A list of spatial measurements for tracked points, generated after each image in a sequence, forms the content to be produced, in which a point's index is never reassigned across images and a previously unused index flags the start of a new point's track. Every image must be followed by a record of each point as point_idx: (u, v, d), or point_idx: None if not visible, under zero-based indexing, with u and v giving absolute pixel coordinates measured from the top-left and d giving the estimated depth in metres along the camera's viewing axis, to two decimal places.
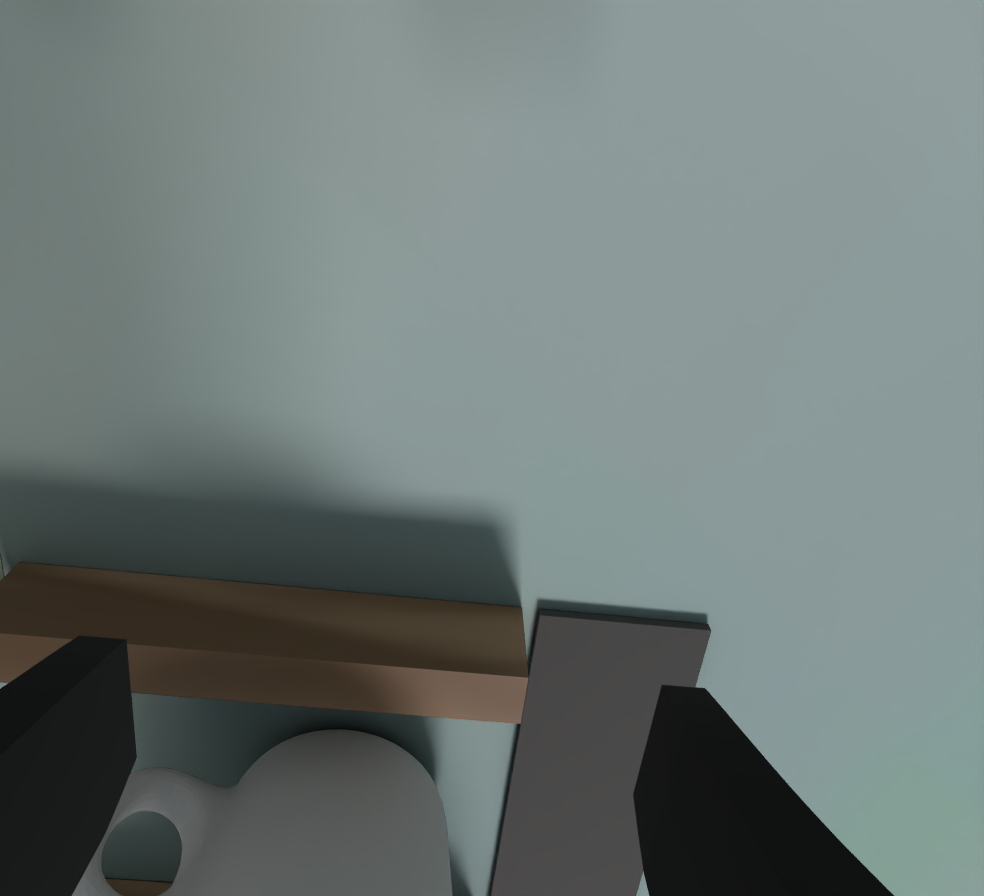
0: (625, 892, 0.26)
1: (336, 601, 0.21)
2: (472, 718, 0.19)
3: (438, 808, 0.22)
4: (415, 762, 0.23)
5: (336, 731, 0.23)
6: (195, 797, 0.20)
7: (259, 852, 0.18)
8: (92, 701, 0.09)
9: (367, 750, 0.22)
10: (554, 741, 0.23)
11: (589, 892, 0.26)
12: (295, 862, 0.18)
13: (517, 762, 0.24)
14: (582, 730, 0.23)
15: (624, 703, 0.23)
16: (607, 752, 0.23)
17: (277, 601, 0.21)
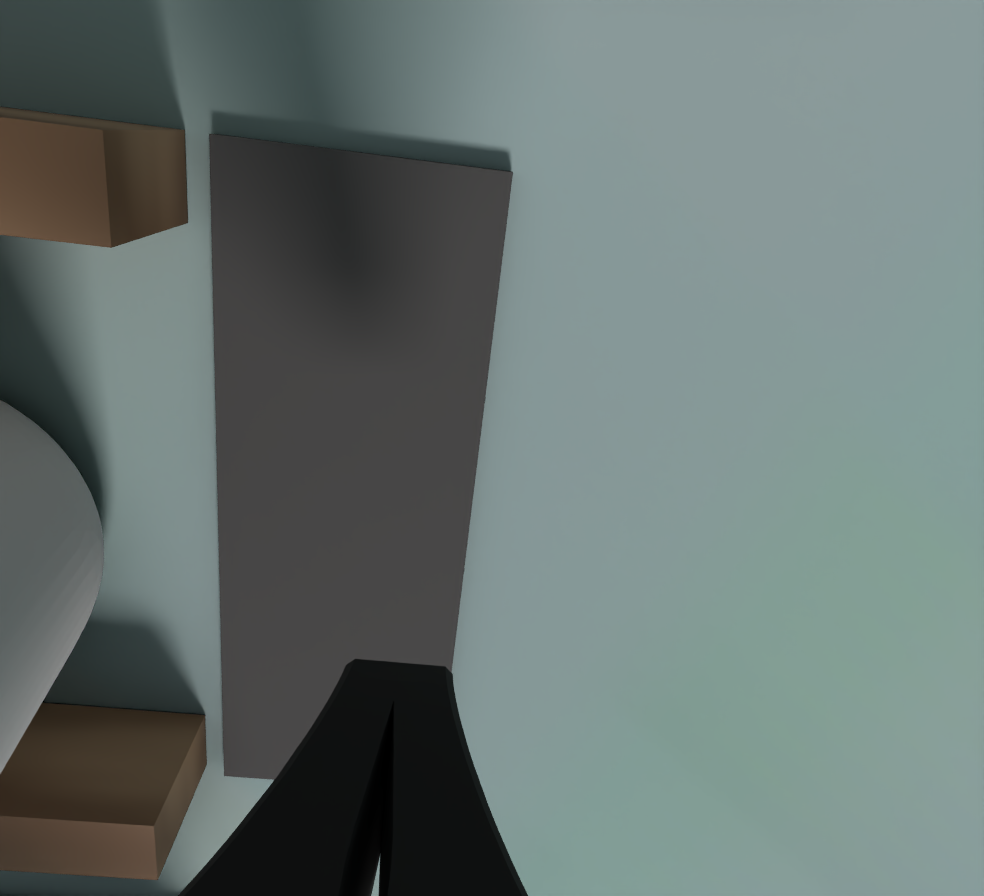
0: None
1: None
2: (18, 235, 0.10)
3: (55, 490, 0.13)
4: (32, 426, 0.14)
5: None
6: None
7: None
8: (390, 725, 0.09)
9: None
10: (276, 404, 0.14)
11: None
12: None
13: (221, 446, 0.14)
14: (319, 382, 0.14)
15: (382, 327, 0.14)
16: (367, 428, 0.14)
17: None
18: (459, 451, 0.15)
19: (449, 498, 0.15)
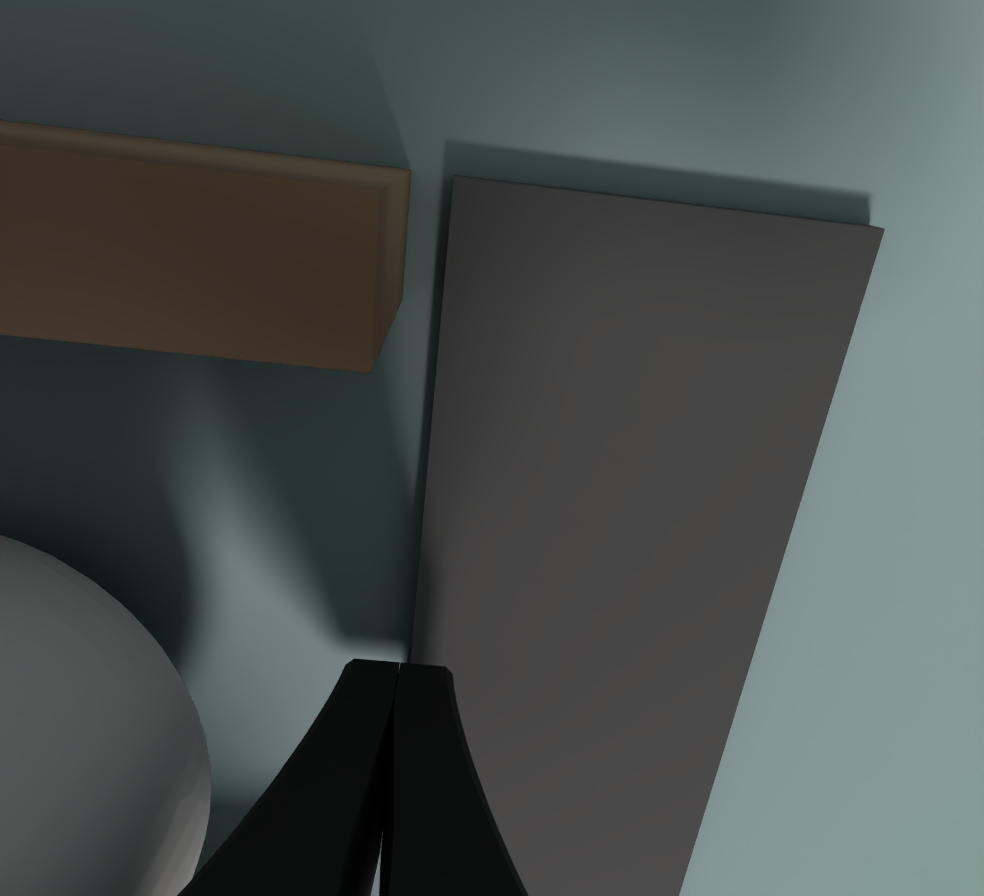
0: (658, 886, 0.13)
1: None
2: (223, 355, 0.06)
3: (135, 750, 0.08)
4: (117, 626, 0.09)
5: None
6: None
7: None
8: (390, 725, 0.09)
9: None
10: (503, 541, 0.10)
11: (586, 886, 0.13)
12: None
13: (423, 595, 0.11)
14: (567, 513, 0.10)
15: (664, 441, 0.10)
16: (624, 571, 0.10)
17: None
18: (744, 599, 0.11)
19: (721, 657, 0.11)
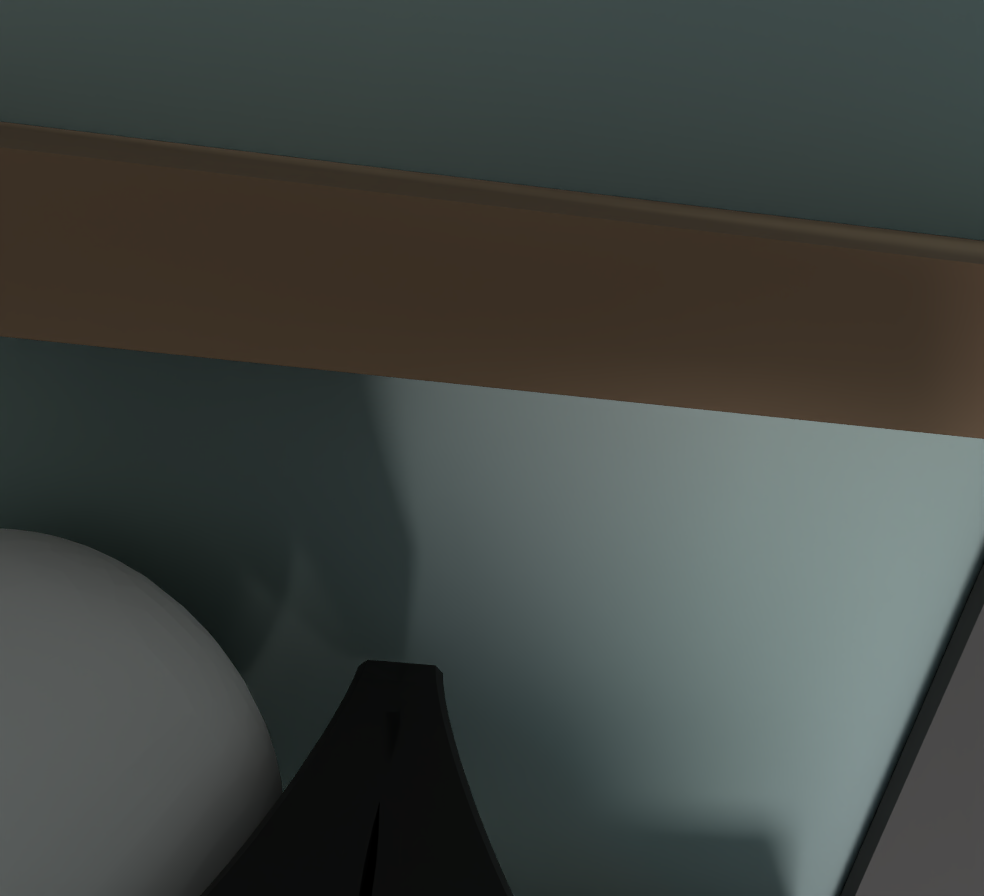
0: None
1: (666, 205, 0.08)
2: None
3: (211, 797, 0.07)
4: (204, 658, 0.08)
5: (37, 532, 0.09)
6: None
7: None
8: None
9: (55, 577, 0.08)
10: None
11: None
12: None
13: (972, 644, 0.11)
14: None
15: None
16: None
17: (528, 190, 0.08)
18: None
19: None
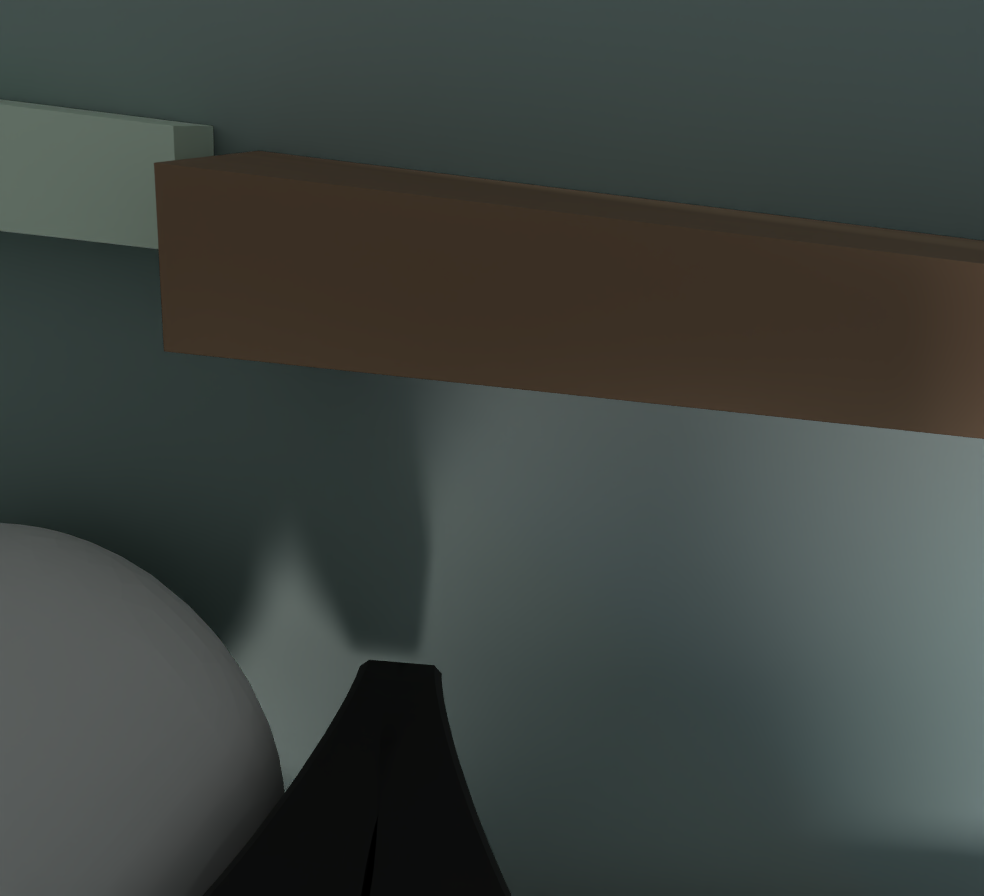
0: None
1: None
2: None
3: (216, 799, 0.07)
4: (209, 659, 0.08)
5: (42, 528, 0.09)
6: None
7: None
8: None
9: (62, 575, 0.08)
10: None
11: None
12: None
13: None
14: None
15: None
16: None
17: (904, 235, 0.08)
18: None
19: None
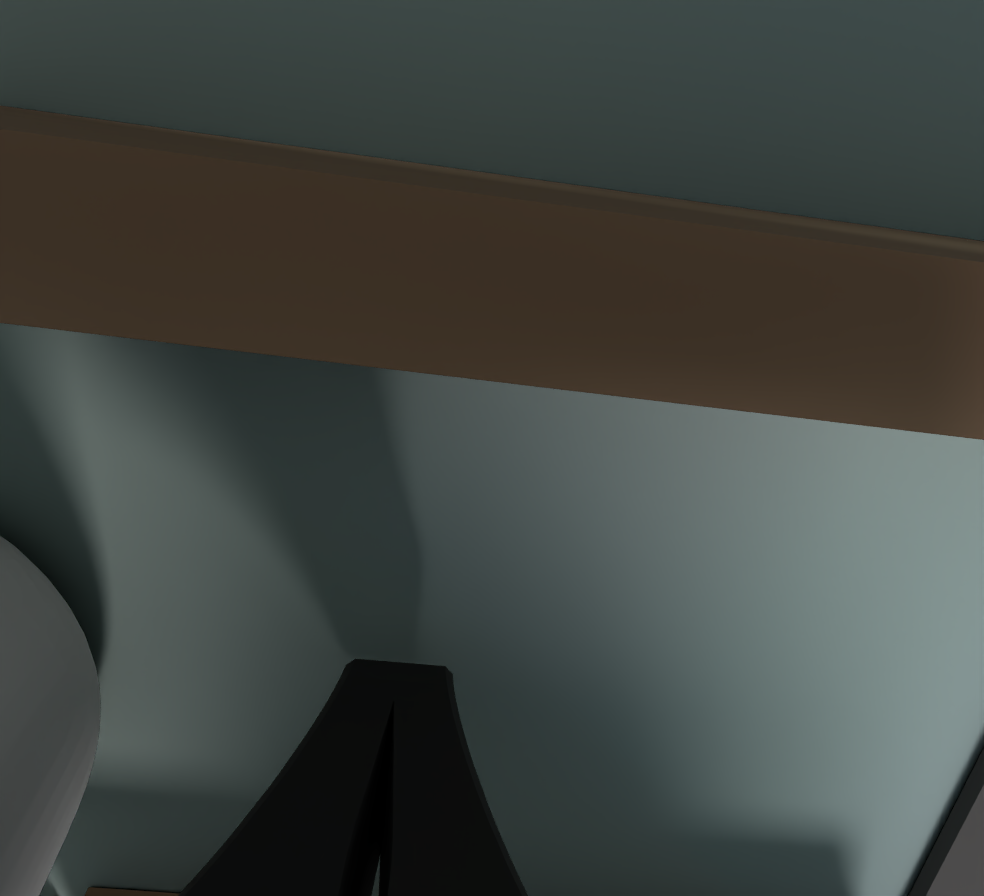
0: None
1: (789, 217, 0.08)
2: None
3: (34, 662, 0.09)
4: (5, 556, 0.09)
5: None
6: None
7: None
8: (391, 725, 0.09)
9: None
10: None
11: None
12: None
13: None
14: None
15: None
16: None
17: (657, 200, 0.08)
18: None
19: None
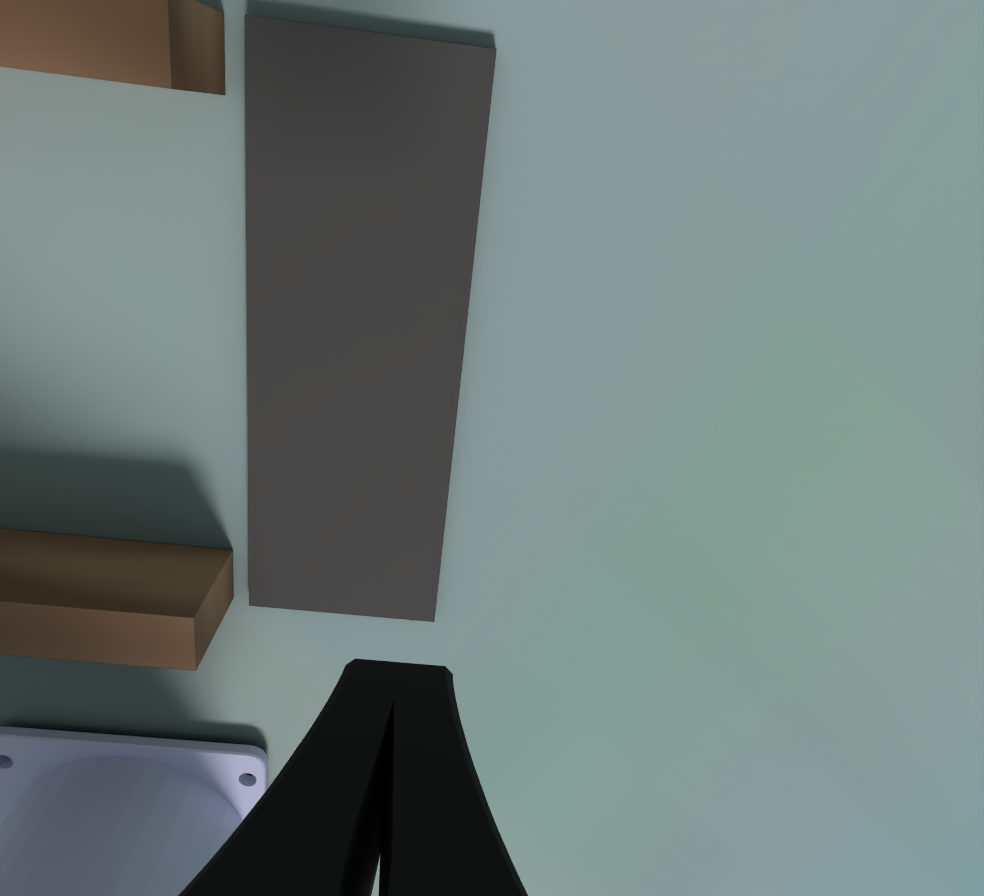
0: (428, 527, 0.19)
1: None
2: (97, 78, 0.13)
3: None
4: None
5: None
6: None
7: None
8: (391, 725, 0.09)
9: None
10: (297, 256, 0.17)
11: (380, 526, 0.19)
12: None
13: (251, 295, 0.17)
14: (334, 237, 0.17)
15: (387, 187, 0.16)
16: (374, 278, 0.17)
17: None
18: (452, 300, 0.17)
19: (444, 343, 0.18)
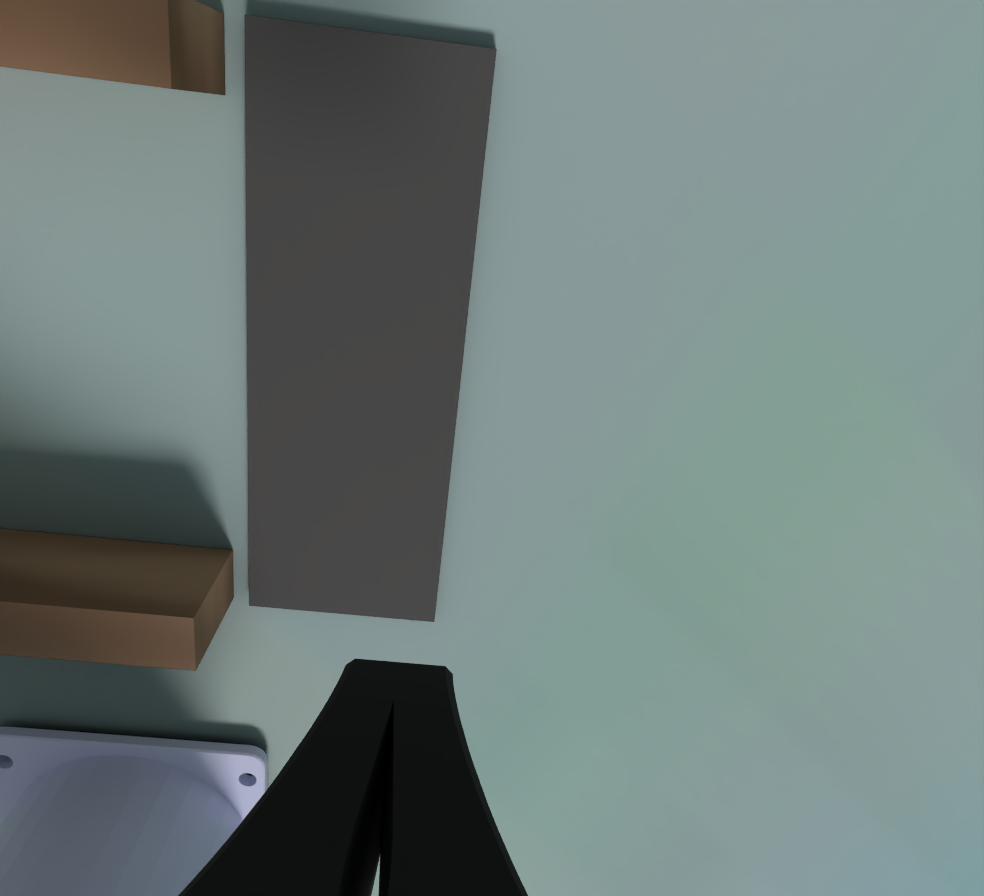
0: (428, 527, 0.19)
1: None
2: (97, 78, 0.13)
3: None
4: None
5: None
6: None
7: None
8: (391, 725, 0.09)
9: None
10: (297, 256, 0.17)
11: (380, 526, 0.19)
12: None
13: (251, 295, 0.17)
14: (334, 237, 0.17)
15: (387, 187, 0.16)
16: (374, 278, 0.17)
17: None
18: (452, 300, 0.17)
19: (444, 343, 0.18)
